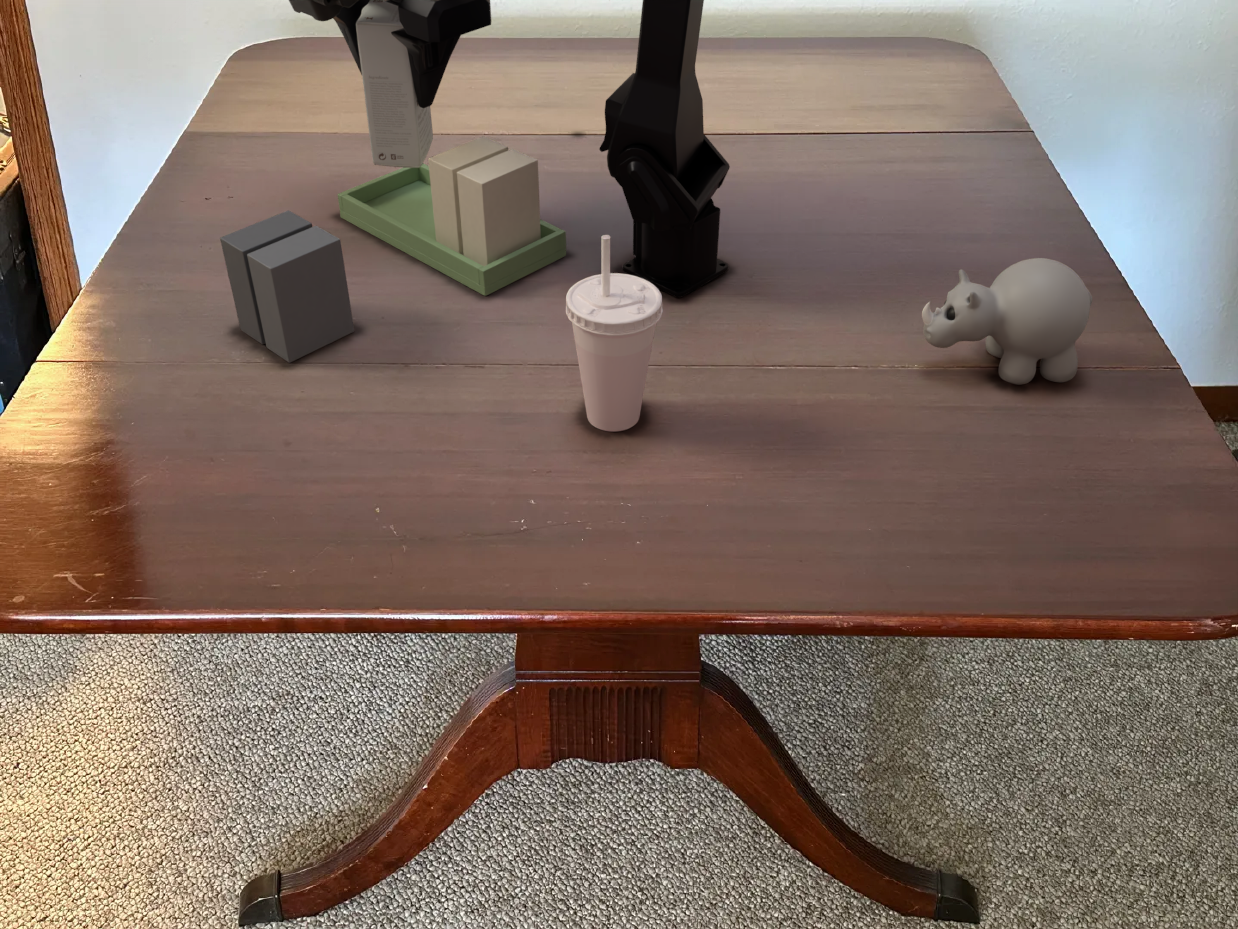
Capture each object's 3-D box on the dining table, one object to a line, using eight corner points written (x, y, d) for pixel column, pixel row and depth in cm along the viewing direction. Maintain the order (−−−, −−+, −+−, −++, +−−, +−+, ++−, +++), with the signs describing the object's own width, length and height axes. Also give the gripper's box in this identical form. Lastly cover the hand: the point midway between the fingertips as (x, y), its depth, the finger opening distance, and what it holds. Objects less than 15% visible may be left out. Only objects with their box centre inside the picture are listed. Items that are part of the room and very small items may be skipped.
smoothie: (574, 385, 88) (571, 210, 79) (662, 392, 87) (669, 216, 78) (561, 439, 83) (556, 259, 74) (654, 447, 82) (661, 266, 73)
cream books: (541, 248, 102) (538, 159, 97) (488, 274, 98) (481, 183, 93) (489, 222, 105) (483, 135, 100) (436, 246, 102) (427, 158, 97)
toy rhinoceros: (900, 339, 93) (918, 241, 87) (1054, 337, 93) (1082, 239, 88) (921, 395, 87) (942, 293, 82) (1086, 392, 88) (1117, 290, 82)
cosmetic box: (422, 169, 101) (411, 25, 93) (369, 166, 101) (353, 22, 93) (434, 136, 106) (425, -4, 98) (383, 133, 106) (369, -7, 98)
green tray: (566, 255, 102) (565, 231, 101) (485, 296, 97) (483, 271, 96) (421, 183, 113) (418, 160, 111) (340, 217, 107) (336, 193, 106)
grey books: (354, 331, 93) (340, 238, 88) (289, 363, 90) (270, 268, 85) (305, 300, 97) (288, 209, 91) (240, 330, 93) (219, 237, 88)
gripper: (211, -110, 91) (251, 92, 100) (364, -60, 81) (392, 159, 91) (332, -137, 97) (359, 56, 107) (489, -93, 87) (502, 115, 97)
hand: (398, 94), depth 100 cm, fingers closed on cosmetic box, 7 cm apart
